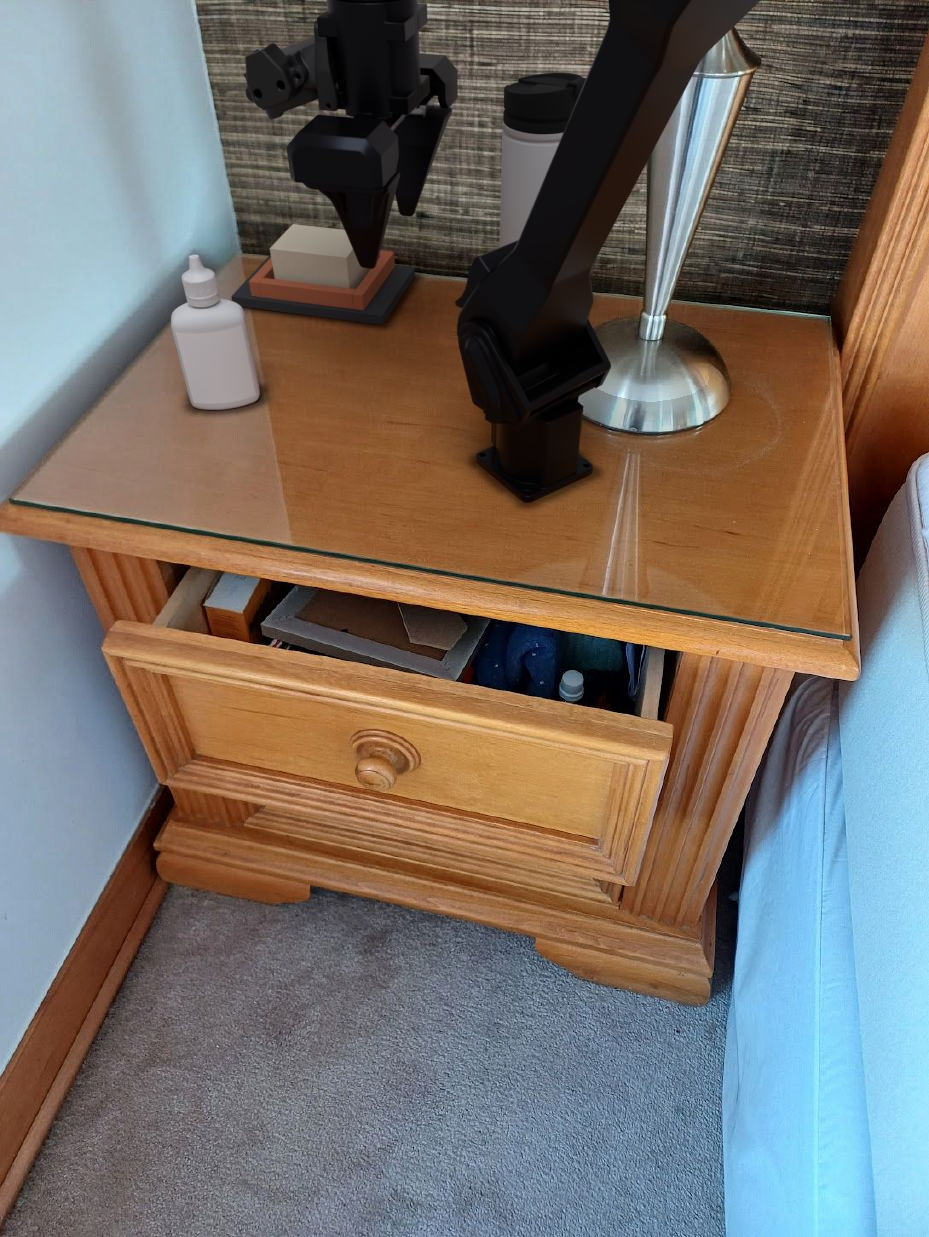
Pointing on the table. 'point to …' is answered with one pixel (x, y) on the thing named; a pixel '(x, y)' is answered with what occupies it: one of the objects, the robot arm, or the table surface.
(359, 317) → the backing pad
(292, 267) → the cream block
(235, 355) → the eye dropper bottle
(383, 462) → the table surface
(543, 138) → the travel mug
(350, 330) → the table surface
